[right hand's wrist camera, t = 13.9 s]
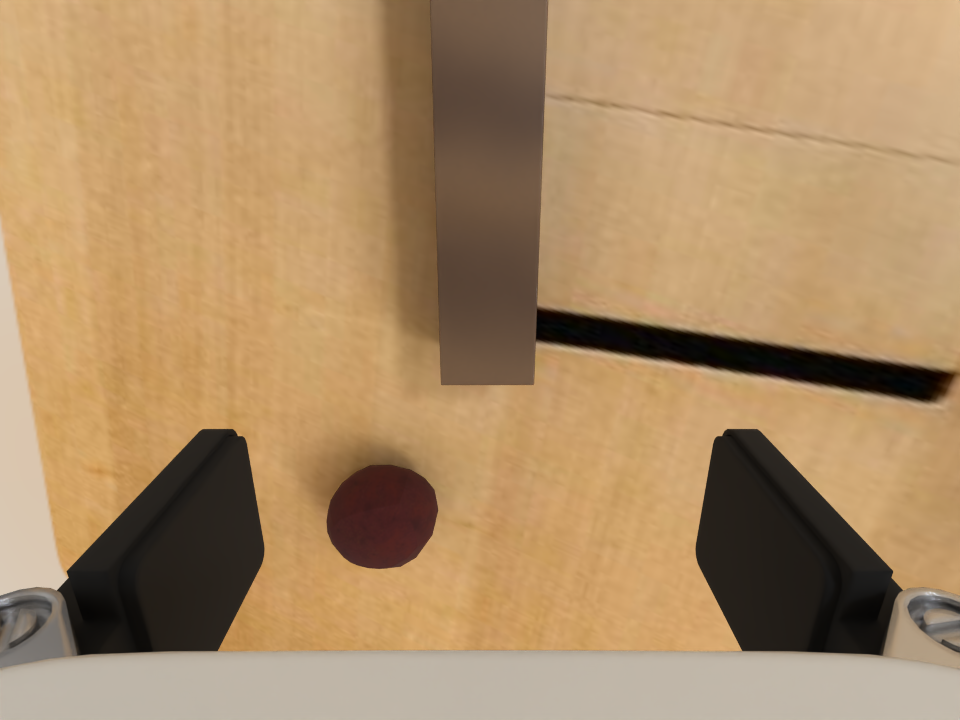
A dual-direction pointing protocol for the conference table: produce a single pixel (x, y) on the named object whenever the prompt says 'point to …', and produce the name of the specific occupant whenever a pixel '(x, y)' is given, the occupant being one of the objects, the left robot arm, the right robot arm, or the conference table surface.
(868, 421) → the conference table surface
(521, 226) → the beam
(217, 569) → the right robot arm
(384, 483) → the potato
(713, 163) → the conference table surface
